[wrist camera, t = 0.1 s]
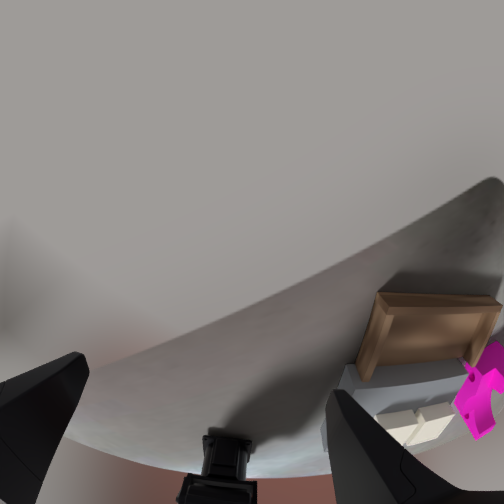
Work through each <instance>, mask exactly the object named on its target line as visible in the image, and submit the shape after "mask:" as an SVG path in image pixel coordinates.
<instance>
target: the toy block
mask: <svg viewBox="0 0 504 504" xmlns="http://www.w3.org/2000/svg"><path fill="white" fill-rule="evenodd" d="M465 369H466V370H467V371H468V373H469V375H468V377H467V378H466V380H465V382H464V383H463V385H462V387H461V388H460V390H459V392H458V393H457V396H456V399H455V402H454V404H455V405H456V407H457V409H458V410H459V412H460V415H461V416H462V418H463V420H464V421H465V423H466V425H467V426H468V428H469V430H470V431H471V433H472V435H473V437H474V438H475V440H477V439H479V438H481V437H482V436H484V435H485V434H487V433H488V432H490V431H491V430H492V429H493V427H494V426H495V424H496V423H495V420H494V418H493V415H492V410H491V392H492V389H494V390H496V391H497V392H499V393H500V394H502V393H503V392H504V347H503V346H502V345H501V344H500V343H499V342H498V341H495V342H494V343H492V344H490V345H489V346H487V347H485V348H484V350H483V352H482V354H481V356H480V358H479V360H478V362H477V364H476V366H475V367H471V366H470V365H469V364H468V363H467V362H466V365H465Z"/></svg>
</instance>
